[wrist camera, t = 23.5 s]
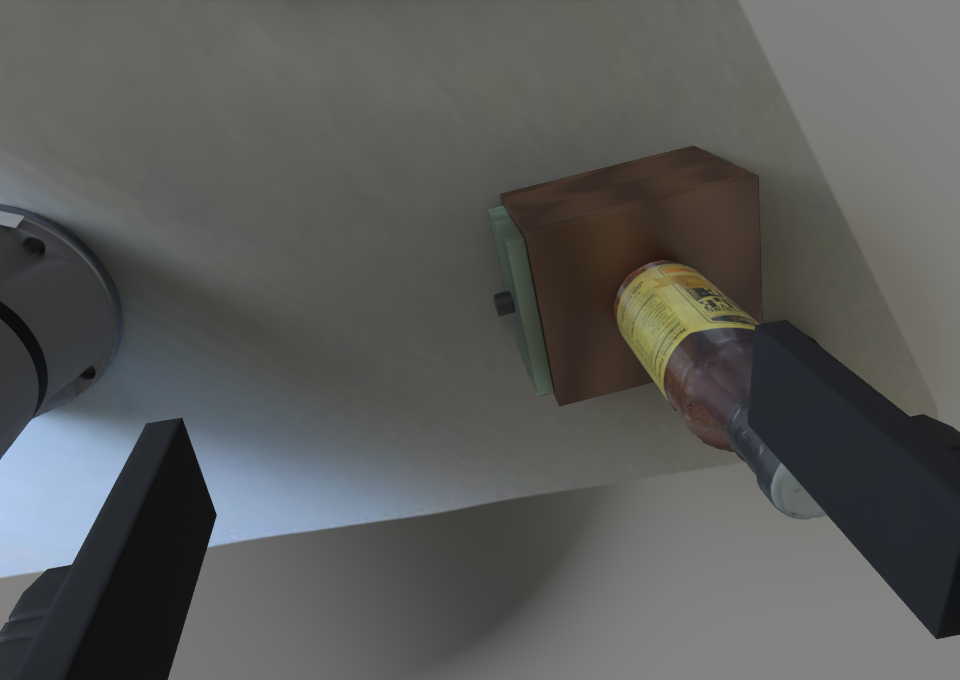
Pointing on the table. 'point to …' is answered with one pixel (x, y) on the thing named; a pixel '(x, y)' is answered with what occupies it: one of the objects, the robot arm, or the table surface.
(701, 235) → the cabinet
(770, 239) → the table surface
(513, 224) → the drawer
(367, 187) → the table surface
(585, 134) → the table surface
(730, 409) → the sauce bottle
